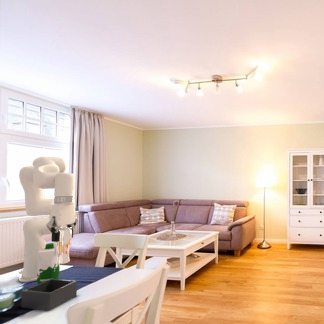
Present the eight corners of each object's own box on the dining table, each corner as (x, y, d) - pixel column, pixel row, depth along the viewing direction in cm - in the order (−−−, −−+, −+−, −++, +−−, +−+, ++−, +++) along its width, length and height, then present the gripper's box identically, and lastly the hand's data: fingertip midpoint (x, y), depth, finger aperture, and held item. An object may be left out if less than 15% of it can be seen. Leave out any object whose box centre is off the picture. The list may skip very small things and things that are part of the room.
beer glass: (61, 265, 119) (63, 230, 120) (48, 264, 120) (49, 229, 121) (74, 260, 126) (76, 227, 127) (61, 259, 127) (63, 226, 128)
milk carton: (60, 281, 141) (61, 242, 142) (57, 287, 133) (59, 246, 134) (39, 284, 137) (40, 243, 138) (34, 291, 129) (36, 248, 130)
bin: (21, 307, 113) (22, 290, 113) (50, 293, 126) (51, 278, 126) (49, 310, 110) (50, 293, 110) (76, 296, 123) (77, 280, 124)
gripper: (72, 198, 134) (71, 235, 133) (39, 201, 117) (37, 243, 116) (85, 198, 132) (84, 235, 131) (54, 201, 115) (52, 244, 114)
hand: (62, 239), depth 124 cm, fingers closed on beer glass, 7 cm apart
